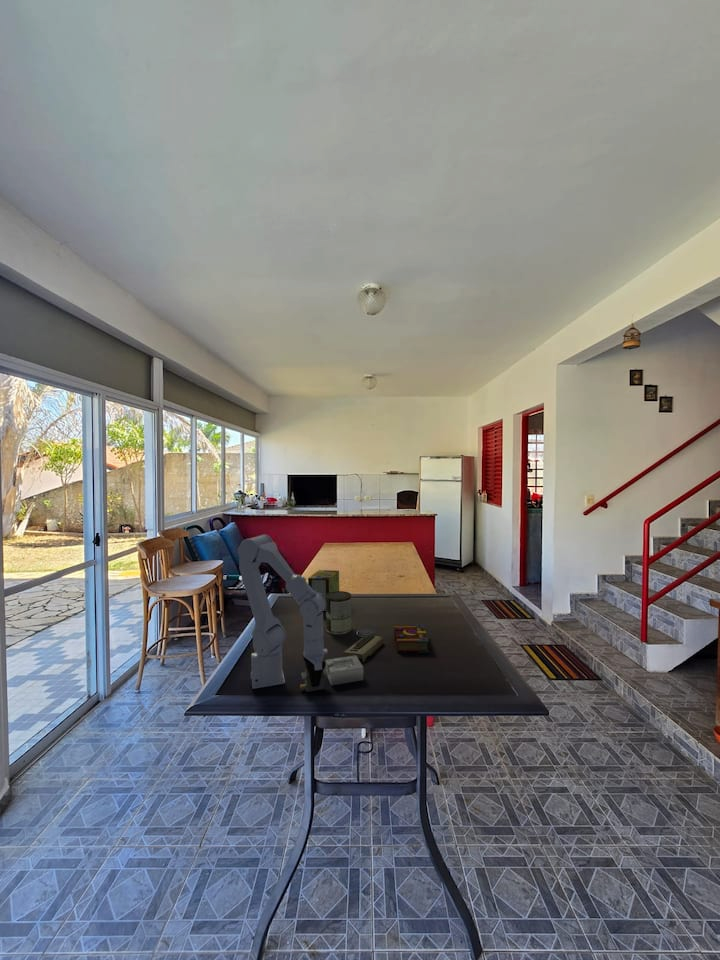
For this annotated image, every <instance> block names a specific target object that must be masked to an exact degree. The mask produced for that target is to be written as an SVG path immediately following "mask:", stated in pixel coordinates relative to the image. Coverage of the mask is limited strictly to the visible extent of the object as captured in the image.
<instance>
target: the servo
mask: <svg viewBox="0 0 720 960" xmlns="http://www.w3.org/2000/svg"><path fill="white" fill-rule="evenodd" d="M300 676H301V678H302V681H304V683H303V684H300V685H299V688H300V690H304V689H305V691H306V693H309V692H315V691H319V690H321V691H322V690H324V689H325V685H324V684H325V683H324V682H325V679H324V677H327V672H326V668H324V670H323V672H322V675H321V680H320V685H319V686H317V687H312V685H311V681H310V675H309V671H308V669H307V668H306V669H304V671H303V672H300Z"/></svg>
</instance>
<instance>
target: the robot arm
mask: <svg viewBox="0 0 720 960" xmlns="http://www.w3.org/2000/svg"><path fill="white" fill-rule="evenodd" d="M236 551H237V554H238V557H239V559H238V570H239V572H240V573H239V574H240V576H241V579H242V582H243V585H244V586H243V587H244V589H245V592H246V595H247V599H248V602H249V606H250V608H251V612H252V615H253V619H254V623H255V624H254V626H253V629H252V632H251V635H252V647H253V650H254V652H252V653H251V655H250V656H251V658H250V659H251V672H250V679H251V687H252V689H254V690H255V689H261V688H267V687H273V686H279V685H284V684H286V681H285V680H286V679H285V675H284V671H283V647H284V645H283V644H284V642H285V641H286V639H287V631H286V629H285V627H283V625H282V623H281V621H280V619H279V618H277V617H276V616H274V613H273V611H272V608H271V605H270V601H269V598H268V595H267V591H266V587H265V585H264V581H263V578H262V575H261V572H260V568H259V567H260V566H261V564H262V563H267V564H268V565H269V566H270V567H271V568H272V569H273V570H274V571H275V572H276V573H277V574H278V575H279V576H280V577H281V579H282V580H283V581H285V590H287V592H288V593H289V594H290V595H291V597H292V598H293V599H294V600H295V601H296V603H297V604H298V605H299V606H300V607H299V608H298V609H299V614H300V615H301V616H302V619H303V655H302V659H303V660H304V663H305V668H306V669H308V671H309V675H310V681H311V685H312V687H317V686H319V685H320V680H321V675H322V672H323V670H324V669H326V660H325V661H323V659H324V657H325V655H327V654H328V653H329V651H328V648H325V647H324V645H325V643H324V612H322V611H323V610H324V609H325V608H326V600H325V598H324V596H323V595H322V594H320V593H317V592H315V590H313V589H312V588H311V587H310V586H309V584H308V582H307V578H306V577H305V576H302V575H301V574H296V573H294V571H293V569H292V568H291V567H290V566H289V564H288V562H287V561H286V560H285V559H284V557H283V555H282V554H281V552H280V551H279V550H278V547H277V544H276V542H274V541H273V539H272V538H271V536H270V535H267V534H261V535H258V536H253V537H251V538H246V539H243V540H242V541H241V542H240V544H239V546H238V548H237V549H236Z"/></svg>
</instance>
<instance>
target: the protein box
mask: <svg viewBox="0 0 720 960" xmlns="http://www.w3.org/2000/svg"><path fill="white" fill-rule="evenodd" d="M307 580H308V582H307V583H308V584H309V586H310V587H311V588H312V589H313V590H315V592H317V593H320V594H322V595H323V596H324V598H325V600H326V594H327V593H330V592H334V591H340V570H333V569H332V570H330V569H329V570H327V569H319V570H317V571H316V572H315V573H313V574H312V575H310V576H309V577H308V578H307ZM323 611H326V608H325V609H324V610H323Z"/></svg>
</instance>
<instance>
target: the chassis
mask: <svg viewBox="0 0 720 960" xmlns="http://www.w3.org/2000/svg"><path fill="white" fill-rule="evenodd" d="M325 663H326V666H325V670H326V672H327V676H326V677H327V679H328V681H329V683H330V686H336V685H337V686H338V685H341V684H349V683H353V682H359V681H364V666H363V664H362V662H361V661H359V659H358V658H357V656H356V655H355V656H348V657H343V656H342V657H335V658H330V659H325Z"/></svg>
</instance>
